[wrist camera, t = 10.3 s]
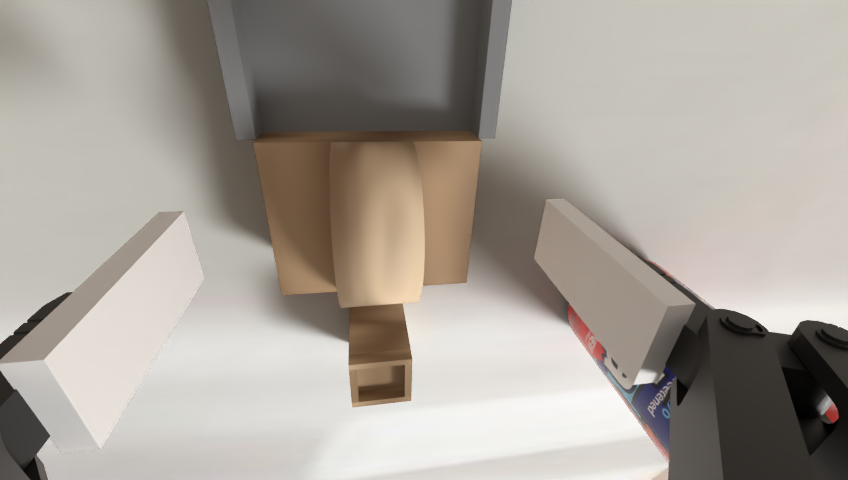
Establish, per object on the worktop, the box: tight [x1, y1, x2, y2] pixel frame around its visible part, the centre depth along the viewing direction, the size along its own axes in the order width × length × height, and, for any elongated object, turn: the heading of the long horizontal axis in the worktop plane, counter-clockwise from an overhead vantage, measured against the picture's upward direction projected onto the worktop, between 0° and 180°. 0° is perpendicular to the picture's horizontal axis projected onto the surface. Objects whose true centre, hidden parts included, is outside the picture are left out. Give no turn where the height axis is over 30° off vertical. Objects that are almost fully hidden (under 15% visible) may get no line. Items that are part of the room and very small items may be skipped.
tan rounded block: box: [253, 131, 482, 308], centre depth 18 cm, size 10×8×8 cm
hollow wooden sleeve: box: [349, 303, 412, 407], centre depth 24 cm, size 4×4×5 cm
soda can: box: [568, 259, 839, 463], centre depth 23 cm, size 8×8×15 cm
